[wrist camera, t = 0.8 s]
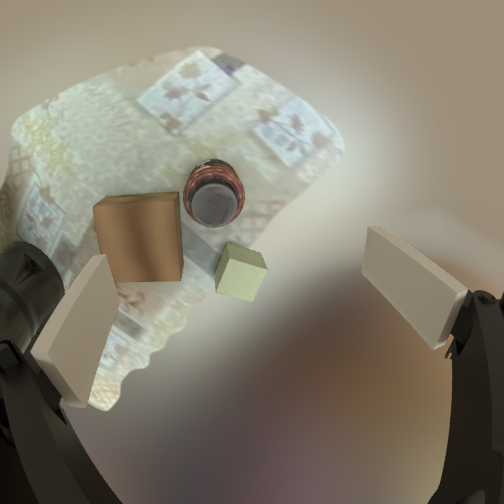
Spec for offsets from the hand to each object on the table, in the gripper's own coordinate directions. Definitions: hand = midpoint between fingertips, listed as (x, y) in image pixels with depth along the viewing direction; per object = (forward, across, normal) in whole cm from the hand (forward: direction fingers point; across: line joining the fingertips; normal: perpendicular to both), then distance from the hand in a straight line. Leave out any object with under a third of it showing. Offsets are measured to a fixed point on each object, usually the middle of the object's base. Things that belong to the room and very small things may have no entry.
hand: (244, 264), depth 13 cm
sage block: (+22, +2, -12) cm, 25 cm away
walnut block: (+23, -10, -5) cm, 26 cm away
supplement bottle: (+23, -1, 0) cm, 23 cm away
